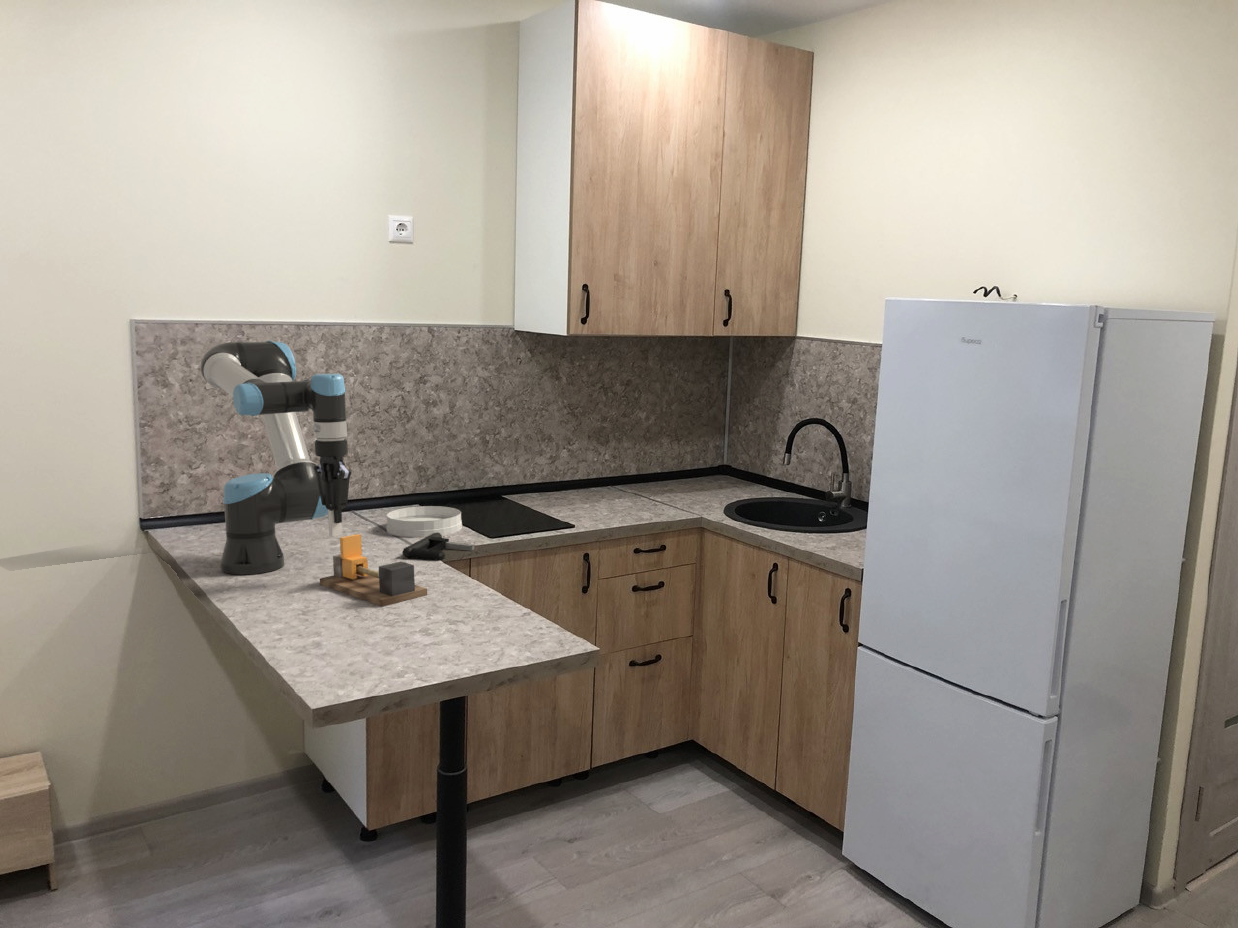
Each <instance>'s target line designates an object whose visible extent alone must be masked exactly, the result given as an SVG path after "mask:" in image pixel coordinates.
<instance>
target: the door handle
mask: <svg viewBox="0 0 1238 928" xmlns="http://www.w3.org/2000/svg"><path fill="white" fill-rule="evenodd" d="M449 539H450V538H448V537H447V538H446V537H443V535H441V534H440V533H438V532H437V533H433V534H431V535H429V536H427V537H422V538H421V539H420V540H417V541H416V542H414V543H412V544H410V545H408V546H406V547H404V548H403V549H402V556H403V557H404V558H405V559H411V558H412V559H421V560H429V561H442V560H444V559H445V557H446V554H445V552H444V551H445V550H454V551H468V552H469V551H471V552H472V551H474V550H475V548H476V547H475V544H471V543H464V542H455V541H450V540H449Z"/></svg>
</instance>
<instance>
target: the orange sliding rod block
mask: <svg viewBox="0 0 1238 928" xmlns="http://www.w3.org/2000/svg"><path fill="white" fill-rule="evenodd" d="M339 546H340V549H339V550H340V554H341V558H342V559H343V561H342V569H343V576H344V577H347V578H350V579H356V578H357V576H356V574H357V575H361V576H368V575H367V574H363V573H360V572H357V571H356V565H358V566H361V567H364V568H368V569H369V562H368V561H369V560H368V557H367V556H363V549H362V547H363V546H362V534H360V533H356V534H351V535H345V536H340V537H339Z"/></svg>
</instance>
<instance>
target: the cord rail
mask: <svg viewBox="0 0 1238 928" xmlns="http://www.w3.org/2000/svg"><path fill="white" fill-rule="evenodd" d="M342 561H343V559H342V558H341V553H340V554H335V555H332V562H333V564H332V565H333V566H332V567H333V575H329V576H325V577H324V576H323V577H321V578H319V585H320V586H322V587H326V588H329V589H332V590H335V591H338V592H341V593H343V594H345V595H349V596H351V597H354V598H356V599H360V600H363V601H366V602H370V603H372V604H374V605H378V606H380V607H386V606H390V605H393V604H397V603H401V602H405V601H409V600H413V599H416V598H421V597H423V596H424V595H425V596H427V595H428V588H426V587H424V586H420V585H417V584H416V583H415V565H414V564H411V563H407V562H404V561H397V562H392V563H388V564H383V565H379V566H378V571H377V570H374V569H370V568H369V567H368V568H364V567H361V566H358V565H356V571H357V572H360V573H363V574H367V575H368V576H361V575H357V574H356V576H357V578H356V579H350V578H347V577H344V576H343V569H342ZM425 596H424V597H425Z"/></svg>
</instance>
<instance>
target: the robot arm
mask: <svg viewBox="0 0 1238 928" xmlns="http://www.w3.org/2000/svg"><path fill="white" fill-rule="evenodd" d="M200 373H201V377H203V379H204V380H205V382H207V383H208V384H209V385H210V386H211V387H214V388H215V389H219V390H220V389H221V390H223V391H225V392H226V393H227V394H228V395H229V396H231V397H232V400H233V402H232V403H233V407H234V408H235V412H236V413H237V414H238V415H240V416H252V417H254V416H261V417H262V420H263V424H264V427H265V431H266V433H267V438H268V441H269V444H270V449H271V452H272V455H273V459H274V462H275V466H276V471H275V472H274V474H273V476H272V475H271V473H267V472H261V473H260V472H259V473H251V474H246V475H241V476H238V477H234V478H232V479H230V480H229V481H227V482H226V483H225V484H224V486H223V499H222V502H223V507H224V508H223V510H224V520H225V521H224V525H225V532H226V533H225V537H226V540H225V544H224V547H223V552H222V556H221V558H220V570H222V571H223V572H222V571H221V572H222V573H224V572H225V574H228V573H229V574H228V575H240V576H241V575H256V574H263V573H269V572H272V571H276V570H279V569H281V568H283V567H284V566H285V556H284V553H283V551H282V548H281V546H280V544H279V541H278V539H277V535H276V525H277V524H284V523H292V522H293V523H294V522H300V521H308V520H309V521H312V520H314V519H319V518H324V517H326V516H327V519H328V532H329V533H328V535H329V537H331V538H335V537H339V536H340V537H342V536H343V515H342V514H343V513H342V512H343V511H342V510H343V509H344V508H347V507H348V499H349V490H350V489H349V488H350V479H351V475H352V470H351V469H348V468H346V463H345V460H344V459H345V458H344V456H347V455H348V453H349V451H348V450H349V449H348V447H349V446H348V440H347V439H346V438H347V436H348V428H347V427H348V425H347V409H346V406H347V405H346V387H345V379H344V376H343V375H342V374H340V373H317V374H316V373H315V374H313V375H312V376H311V378H310V379H303V380H296V381H295V379H296V376H297V367H296V359H295V356H294V354H293V352H292V350H291V348H290V347H289V345H287V344H286V343H284V342H282V341H272V340H266V341H254V342H253V341H249V342H248V341H247V342H244V341H243V342H241V341H240V342H235V341H234V342H223V343H221V344H218V345H215V346H213V347H212V348H211V349H209V350H208V351H207V352H206V353H205V354H204V355H203V357H202V359H201V361H200ZM306 412H312V417H313V418H312V419H313V428H312V430H313V432H314V433H313V434H314V438H315V439H316V440H315V441H314V454H315V457H319V464H317V463H315V462H314V461H311V458H310V455H309V452H308V448H307V445H306V442H305V439H304V435H303V432H302V428H301V426H300V422H299V418H298V415H297V413H306Z"/></svg>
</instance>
